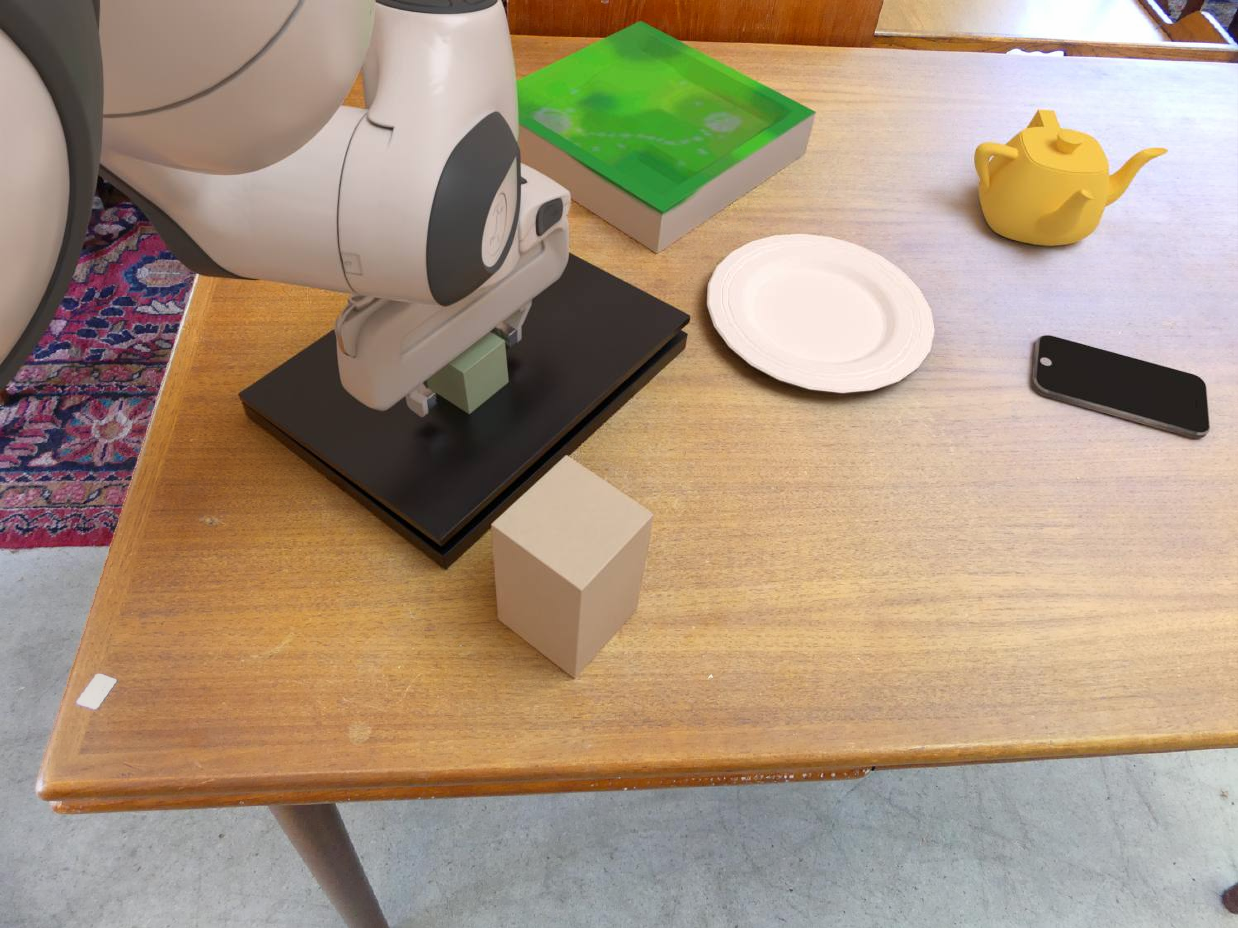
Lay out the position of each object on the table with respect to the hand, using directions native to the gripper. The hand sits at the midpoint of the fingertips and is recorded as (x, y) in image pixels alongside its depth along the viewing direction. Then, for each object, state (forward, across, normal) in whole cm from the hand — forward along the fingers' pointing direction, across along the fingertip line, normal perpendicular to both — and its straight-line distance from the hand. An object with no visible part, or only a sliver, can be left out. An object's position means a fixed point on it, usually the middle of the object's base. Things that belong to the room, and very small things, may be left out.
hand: (466, 373), depth 71 cm
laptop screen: (+2, +3, +2) cm, 4 cm away
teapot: (+5, +58, -26) cm, 64 cm away
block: (+1, 0, 0) cm, 1 cm away
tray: (+5, +40, +12) cm, 42 cm away
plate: (+5, +29, -16) cm, 33 cm away
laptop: (+5, +3, +2) cm, 6 cm away
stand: (+5, -9, -18) cm, 21 cm away
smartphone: (+5, +40, -41) cm, 57 cm away
